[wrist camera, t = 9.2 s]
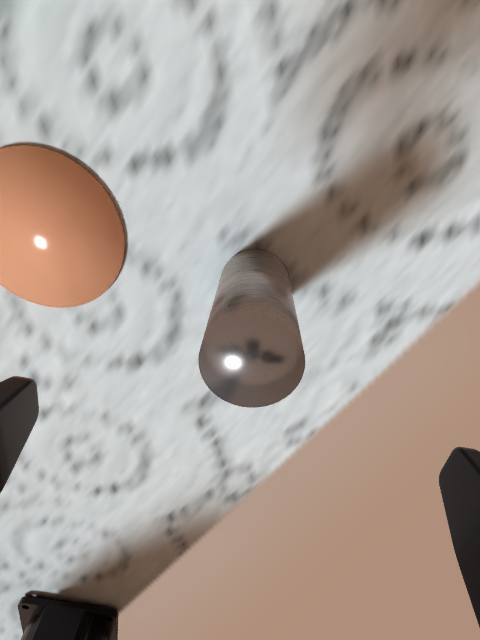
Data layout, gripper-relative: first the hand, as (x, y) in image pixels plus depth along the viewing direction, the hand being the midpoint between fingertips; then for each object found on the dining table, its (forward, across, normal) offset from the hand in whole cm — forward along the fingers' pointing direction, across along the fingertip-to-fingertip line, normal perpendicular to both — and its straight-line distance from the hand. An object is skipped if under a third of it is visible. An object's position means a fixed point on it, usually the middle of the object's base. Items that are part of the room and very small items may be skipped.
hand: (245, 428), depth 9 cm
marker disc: (+8, +8, -1) cm, 11 cm away
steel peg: (+8, 0, 0) cm, 8 cm away
